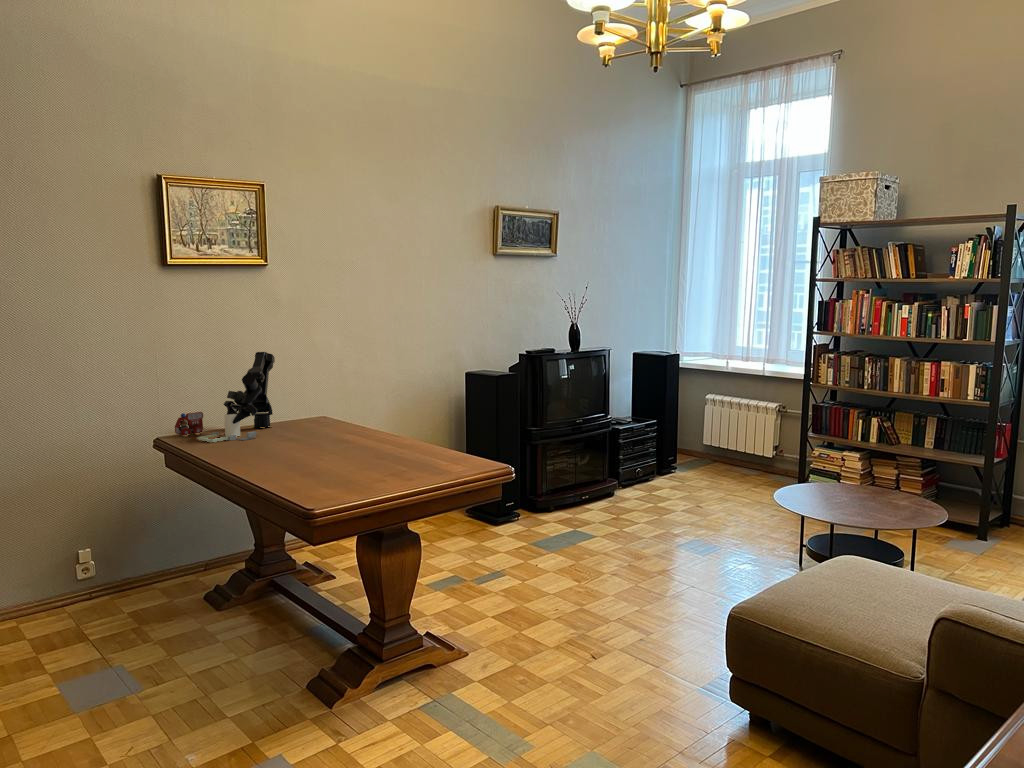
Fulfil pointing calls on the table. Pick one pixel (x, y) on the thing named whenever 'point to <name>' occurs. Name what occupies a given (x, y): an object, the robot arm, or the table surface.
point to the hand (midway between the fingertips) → (229, 422)
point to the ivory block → (231, 425)
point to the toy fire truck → (189, 423)
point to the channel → (233, 437)
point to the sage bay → (205, 438)
